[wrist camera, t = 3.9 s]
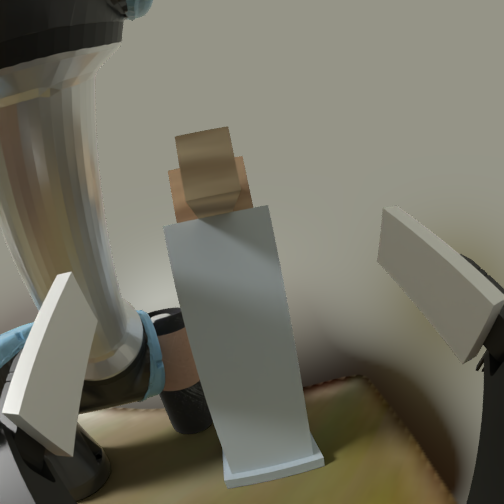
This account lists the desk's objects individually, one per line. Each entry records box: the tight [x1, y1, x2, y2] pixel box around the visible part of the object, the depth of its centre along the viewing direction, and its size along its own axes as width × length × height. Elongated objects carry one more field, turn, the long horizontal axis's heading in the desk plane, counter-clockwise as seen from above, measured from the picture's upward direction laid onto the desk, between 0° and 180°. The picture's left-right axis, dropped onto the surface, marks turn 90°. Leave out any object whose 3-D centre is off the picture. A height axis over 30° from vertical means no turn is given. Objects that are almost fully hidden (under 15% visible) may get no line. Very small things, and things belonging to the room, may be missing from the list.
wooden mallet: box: [168, 127, 253, 223], centre depth 27 cm, size 20×8×6 cm, turn 7°
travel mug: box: [147, 308, 213, 434], centre depth 44 cm, size 8×8×20 cm
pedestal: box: [163, 205, 325, 488], centre depth 33 cm, size 12×12×31 cm
